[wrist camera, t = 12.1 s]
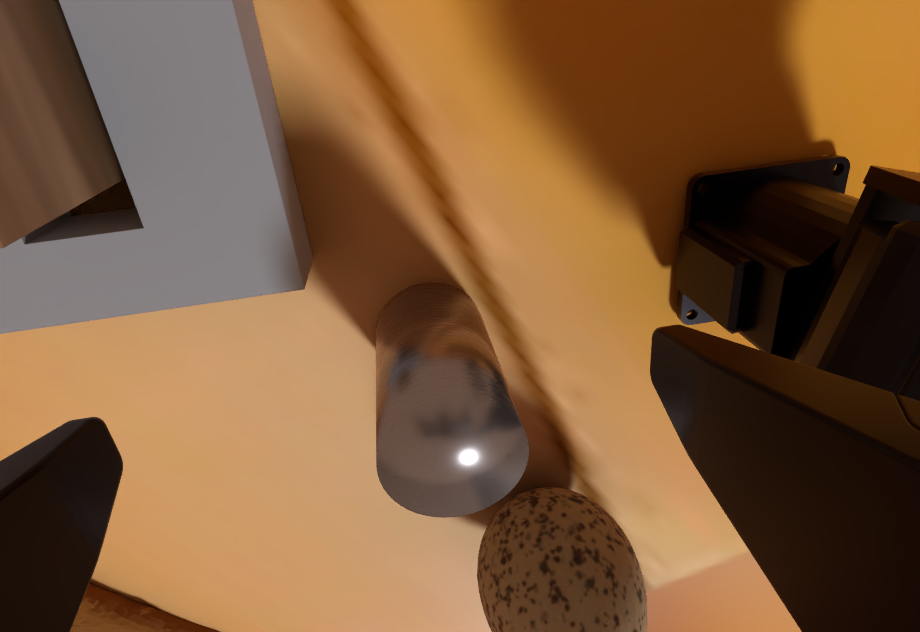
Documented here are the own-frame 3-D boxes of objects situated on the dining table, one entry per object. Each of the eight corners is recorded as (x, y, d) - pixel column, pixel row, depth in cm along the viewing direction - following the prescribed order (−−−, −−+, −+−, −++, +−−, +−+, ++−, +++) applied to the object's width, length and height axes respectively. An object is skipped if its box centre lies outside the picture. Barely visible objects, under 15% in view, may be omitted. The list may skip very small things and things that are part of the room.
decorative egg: (452, 554, 30) (485, 775, 21) (482, 446, 27) (536, 650, 18) (577, 558, 31) (658, 766, 22) (619, 457, 28) (732, 651, 19)
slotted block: (219, -137, 16) (188, -171, 13) (312, 257, 21) (304, 289, 19) (-238, -96, 15) (-369, -125, 12) (-18, 304, 21) (-76, 344, 18)
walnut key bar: (83, 3, 17) (-126, -20, 10) (140, 169, 19) (4, 248, 12) (13, 9, 17) (-249, -11, 10) (79, 176, 19) (-96, 259, 12)
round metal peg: (478, 275, 23) (525, 384, 16) (487, 369, 25) (532, 503, 18) (367, 292, 22) (363, 410, 15) (385, 385, 24) (389, 528, 17)
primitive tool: (277, 646, 32) (266, 713, 29) (214, 695, 33) (197, 764, 30) (-85, 472, 24) (-155, 537, 21) (-151, 543, 25) (-226, 616, 22)
